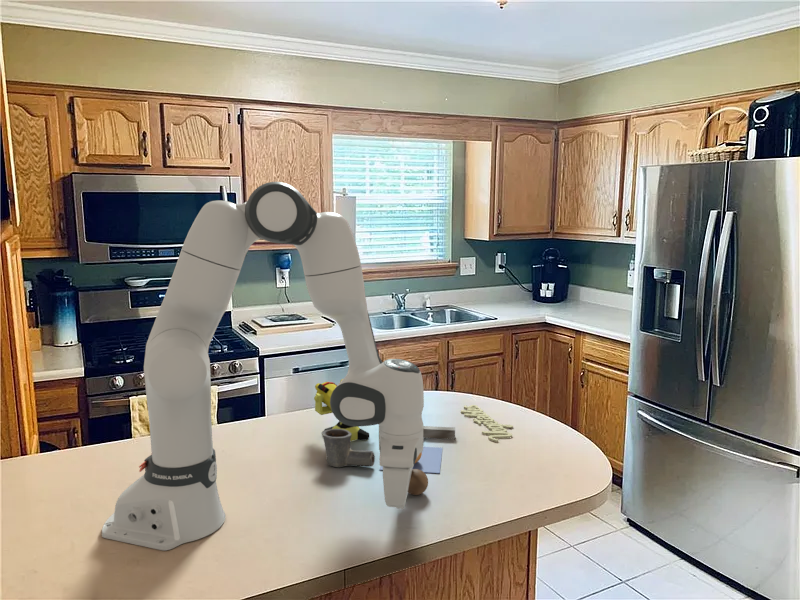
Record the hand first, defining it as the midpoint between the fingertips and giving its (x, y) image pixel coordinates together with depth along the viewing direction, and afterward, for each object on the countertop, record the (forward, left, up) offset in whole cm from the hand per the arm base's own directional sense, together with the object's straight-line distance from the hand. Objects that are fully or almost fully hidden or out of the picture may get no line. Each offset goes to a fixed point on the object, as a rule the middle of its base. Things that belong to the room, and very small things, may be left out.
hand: (400, 505), depth 123 cm
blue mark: (0, +25, -2) cm, 25 cm away
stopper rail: (0, +39, -2) cm, 39 cm away
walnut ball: (+2, +8, +1) cm, 8 cm away
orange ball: (0, +23, +1) cm, 23 cm away
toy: (-20, +38, -2) cm, 43 cm away
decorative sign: (+19, +51, -2) cm, 54 cm away
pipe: (-15, +20, -2) cm, 25 cm away
